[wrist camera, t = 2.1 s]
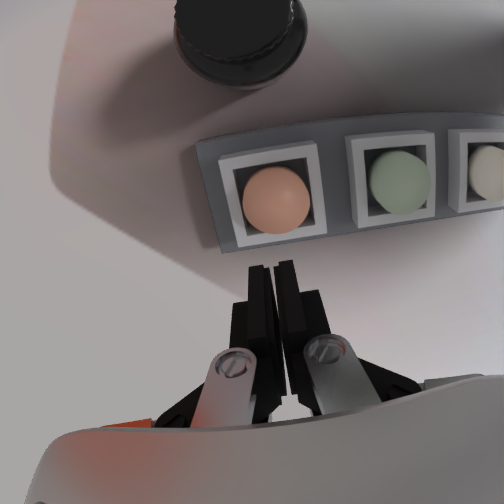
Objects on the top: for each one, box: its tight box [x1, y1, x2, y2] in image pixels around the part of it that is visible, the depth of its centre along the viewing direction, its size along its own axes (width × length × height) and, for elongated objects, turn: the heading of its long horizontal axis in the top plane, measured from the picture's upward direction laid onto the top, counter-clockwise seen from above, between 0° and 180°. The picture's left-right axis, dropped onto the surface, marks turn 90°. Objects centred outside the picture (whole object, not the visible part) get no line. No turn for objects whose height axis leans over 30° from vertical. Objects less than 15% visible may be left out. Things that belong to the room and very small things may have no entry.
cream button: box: [467, 144, 504, 202], centre depth 20 cm, size 4×4×2 cm
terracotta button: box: [243, 165, 310, 234], centre depth 21 cm, size 4×4×2 cm
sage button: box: [368, 149, 431, 215], centre depth 21 cm, size 4×4×2 cm
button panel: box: [195, 112, 504, 254], centre depth 22 cm, size 28×9×4 cm, turn 101°
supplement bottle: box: [173, 0, 308, 90], centre depth 15 cm, size 7×7×12 cm
